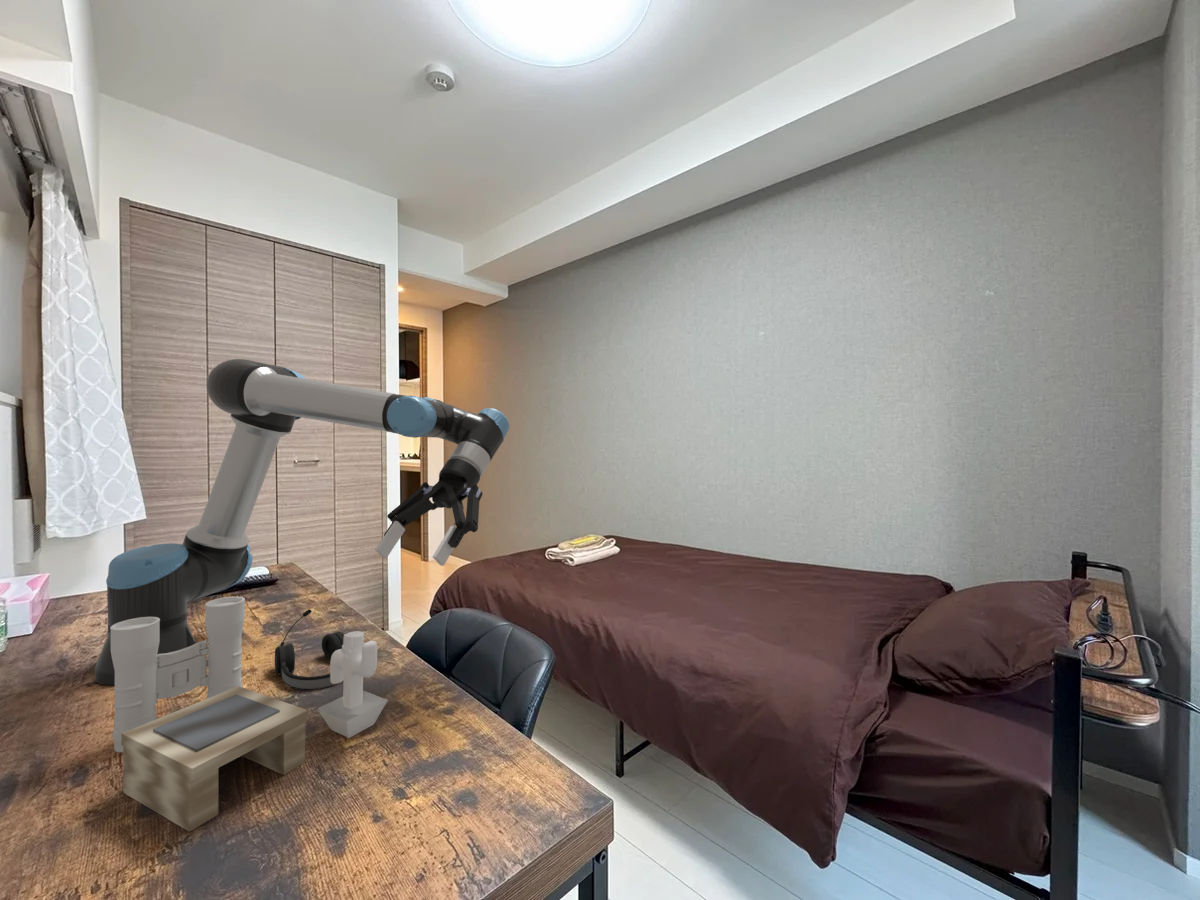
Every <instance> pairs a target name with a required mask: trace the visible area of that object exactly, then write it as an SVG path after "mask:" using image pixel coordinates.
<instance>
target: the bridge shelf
mask: <svg viewBox="0 0 1200 900" xmlns="http://www.w3.org/2000/svg"><path fill="white" fill-rule="evenodd" d="M308 713H309V711H308V710H307V709H305V708H302V707H299V706H298V705H297V706H296V705H293V704H291V703H288V702H285V701H284V700H283V701H282V700H279V699H277V698H273V697H271V696H268V695H265V694H262V693H259V692H257V691H254V690H251V689H248V688H245V687H243V686H242V687H240V686H237V687H235V688H232V689H230V690H227V691H225V692H223V693H220V694H218V695H215V696H213V697H210V698H208V699H207V698H206V699H203V700H201V701H198V702H196V703H193V704H191V705H188V706H186V707H183V708H180V709H179V710H176V711H173V712H171V713H167V714H166V715H164V716H161V717H159V718H158V717H157V719H156V720H153V721H151V722H149V723H146V724H144V725H141V726H139V727H136V728H134V729H131V730H129V731H126V732H124V733H121V745H122V746H123V752H122V753H123V755H122V757H123V758H122V762H123V763H122V765H123V766H122V767H123V768H122V769H123V771H122V773H123V775H122V776H123V778H122V779H123V780H122V781H123V783H122V784H123V785H122V789H123V793H124V795H127V796H128V797H130V798H132V799H133V800H135V801H136V802H139V803H140V804H142V805H143V806H145V807H147V808H149V809H150V810H152V811H154V812H156V813H157V814H159V815H160V816H162V817H164V818H166V819H167V820H169V821H170V822H172V823H173V824H175V825H178V826H179V827H180V828H182V829H184V830H186V831H187V832H189V833H190V832H192V831H193V830H195V829H197V828H198V827H200V826H202V825H203V824H205V823H207V822H208V821H210V820H212V819H214V818H215V817H217V816H218V815H219V768H220V767H222V766H224V765H227V764H229V763H230V762H232V761H235V760H236V759H237V758H238V759H239V758H240V757H243V758H245V759H247V760H250V761H252V762H254V763H256V764H259V765H261V766H263V767H265V768H267V769H270V770H272V771H274V772H277V773H279V774H281V775H283V776H284V775H286V774H288V773H290V772H291V771H293V770H295V769H297V768H298V767H300V766H301V765H303V764H304V763H306V722H308V718H309V717H308V716H309V715H308Z"/></svg>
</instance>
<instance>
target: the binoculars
mask: <svg viewBox="0 0 1200 900" xmlns="http://www.w3.org/2000/svg"><path fill="white" fill-rule="evenodd" d="M245 600H246V598H245V597H242V596H226V597H220V598H216V599H212V600H210V601H207V602H206V603H205V604H204V607H205V608H204V610H205V611H204V613H205V614H204V618H205V619H204V625H205V626H204V627H205V632H206V638H207V640H206V639H205V640H201V641H198V642H196V643H195V644H194V645H192V646H189V647H187V648H184V649H181V650H178V651H174V652H170V653H165V654H158V655H157V653H158V647H159V642H160V619H159V618H157V617H141V618H134V619H129V620H125V621H122V622H119V623H116V624H114V625H112V626H111V627H110V629H111V656H112V661H113V666H114V670H115V685H114V689H113V691H114V704H113V708H114V718H113V726H114V727H113V730H112V741H113V745H114V746H113V750H114V752H116V753H123V746H122V745H121V733H124V732H126V731H129V730H131V729H134V728H136V727H139V726H141V725H144V724H146V723H149V722H151V721H153V720H156V719H158V717H157V707H156V706H157V704H158V703H159V701H158V700H162V699H163V700H165V699H172V698H174V697H178V696H180V695H183V694H185V693H188V692H190V691H193V690H194V689H195V688H196V687H198V686H199V687H200V688H201V687H206V686H207V693H206V699H208V698H210V697H213V696H215V695H218V694H220V693H223V692H225V691H227V690H230V689H232V688H235V687H237V686H240V687H243V685H242V683H243V681H242V680H243V679H242V678H243V677H242V667H243V664H242V653H243V648H242V636H243V628H244V623H245V615H246V614H245V613H246V612H245V609H246V607H245V602H246V601H245ZM207 655H208V656H207ZM207 657H208V658H207ZM157 658H158V659H157ZM207 661H208V670H207ZM157 662H158V663H157ZM164 665H165V666H164ZM207 673H208V674H207Z"/></svg>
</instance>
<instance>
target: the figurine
mask: <svg viewBox="0 0 1200 900" xmlns="http://www.w3.org/2000/svg"><path fill="white" fill-rule="evenodd" d="M343 634H344V639H343V645H342V649H339V650H336V651H335V652H334V653H333V654H332V656H331V660H330V664H329V666H330V667H329V668H330V670H329V671H330V672H329V674H330V681H331V683H332V684H335V685H338V684H340V682H341V683H342V681H343V683H342V685H343V686H342V688H343V694H342V696H341V697H338V698H337V699H335V700H332V701H331V702H330V701H329V702H328V703H325V704H324V705H321V706H319V707H318V708H316V709H317V711H318V712H319V714H320V715H321V716H322V718H323V720H324V721H325V722H326V724H327V726H328V727H329V728H330V730H331V731H333V732H335V733H337V734H339V735H341V736H344V737H346V738H347V739H350V738H351V737H354V736H356V735H357V734H359V733H361V732H362V731H364V730H366V729H369V728H370V727H372V726H373V725H375V724H376V721H377V720H378V718H379V717H380V714H381V713H382V712H383V709H384V707H385V706H386V704H387V702H388V701H389V700H388V699H386V698H384V697H381V696H378V695H376V694H374V693H371V692H367V691H365V690H364V678H365V679H368V678H371V677H373V676H374V675H375V673H376V671H377V667H378V643H377V641H376V640H369V641H367V642H365V633H364V632H363V631H359V630H357V631H355V630H354V631H349V632H347V633H343ZM364 642H365V643H364ZM337 683H338V684H337Z"/></svg>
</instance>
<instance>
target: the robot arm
mask: <svg viewBox="0 0 1200 900" xmlns="http://www.w3.org/2000/svg"><path fill="white" fill-rule="evenodd" d="M206 391H207V394H208V397H209V399H210V400H211V402H212V403H213V404H214V405H215V406H216V407H217V408H218V409H220V410H222V411H224V412H226V413H228V414H230V418H231V420H232V422H234V423H233V424H235V427H234V430H233V432H232V434H231V437H230V441H229V442H228V446H227V449H226V451H225V453H224V456H223V459H222V461H221V464H220V467H219V470H218V472H217V475H216V478H215V480H214V483H213V485H212V488H211V491H210V494H209V496H208V499H207V502H206V504H205V507H204V510H203V513H202V515H201V518H200V521H199V523H198V525H196V526H195V525H194V526H193V527H191V528H189V529H188V530H187V531H186V534H185V536H184V539H183V542H182V544H181V543H176V542H175V543H171V542H170V543H159V544H158V543H157V544H153V545H150V546H141V547H137V548H133V549H130V550H127V551H125V552H122V553H120V554H118V555H117V556H115V557H113V559H112V560H111V561H110V562H109V564H108V568H107V569H108V571H107V577H106V580H105V583H106V589H107V590H106V591H107V593H106V594H107V595H106V596H107V637H106V639H105V641H104V643H103V644H104V645H103V647H102V649H101V652H100V653H99V656H98V658H97V661H96V664H95V667H94V681H95V682H96V683H98V684H101V685H105V686H108V685H109V686H110V685H112V686H115V670H114V666H113V661H112V656H111V629H110V627H111V626H112V625H114V624H116V623H119V622H122V621H125V620H129V619H134V618H141V617H157V618H159V619H160V642H159V647H158V653H157V655H158V654H165V653H170V652H174V651H178V650H181V649H184V648H187V647H189V646H192V645H194V644H195V643H197V642H196V640H195V639H196V638H195V637H194V635H193V632H192V631H191V628H190V626H189V624H188V618H187V617H188V616H187V615H188V612H187V611H188V603H189V602H192V601H195V600H197V599H198V600H199V599H201V598H204V597H207V596H209V595H212V594H214V593H219V592H222V591H225V590H227V589H229V588H231V587H234V585H237V584H238V583H240V582H241V581H243V579H245V577H246V576H247V574H248V573H249V571H250V570H251V567H252V564H253V554H252V553H251V550H252V549H251V547H250V545H249V542H250V539H249V537H248V536H247V535H246V534H245V533H246V532H245V531H246V529H247V526H248V523H249V521H250V518H251V515H252V513H253V511H254V508H255V505H256V504H257V503H256V502H257V500H258V497H259V496H260V492H261V489H262V486H263V484H264V482H265V479H266V476H267V473H268V471H269V468H270V466H271V464H272V460H273V458H274V455H275V452H276V449H277V447H278V445H279V442H280V439H281V437H284V436H287V435H290V433H291V432H292V429H293V427H294V424H295V421H296V420H300V419H302V418H304V419H309V420H315V421H320V422H321V421H322V422H327V423H334V424H340V425H346V426H350V427H351V426H352V427H358V428H363V429H370V430H376V431H381V432H387V433H392V434H397V435H401V436H402V437H407V438H413V439H414V438H417V439H418V438H436V439H437V438H439V439H442V440H445V441H448V442H449V443H453V444H456V447H455V449H454V450H453V451H452V453H451V454H450V456H449V457H448V460H446V462H445V464H444V465H443V467H442V468H441V470H440V471H439V472H438V473H439V474H438V481H437V482H436V483H435V484H434V485H430V484H428V482H423V483H422V484H421V485H420V486H419V488H418V489H417V490H416V491H414V492H413V493H412V494H411V495H410V496H409V497H408V498H406V499H405V500H403V502H402V503H400V504H399V505H398V506H396V507H395V508H394V509H393V510H392V511H391V512H389V513H388V514H387V516H386V517H387V518H388V519H389V520H390V522H391V524H389V527H387V529H386V531H385V532H384V533H383V537H382V539H381V540H380V542H379V543H378V545H377V546H376V548H375V549H374V551H376V552H377V554H379V555H380V556H381V557H382V558H383V559H387V558H388V557H389V555H390V554H391V552H392V551H393V549H394V548H395V547H396V545H397V543H398V542H399V541H400V539H401V537H402V536H403V535H404V533H405V531H406V529H405V527H406V526H408V525H410V524H411V523H412V522H413V521H415V520H417V519H419V518H420V517H422V516H423V515H425V514H426V513H428V512H430V511H435V510H436V509H439V508H442V509H443V508H446V509H452V514H453V518H454V522H453V524H454V525H450V526H449V528H448V529H447V531H446V533H445V535H444V537H443V538H442V540H441V541H440V543H439V545H438V547H437V549H436V550H435V552H434V553H433V555H432V558H433V559H434V560H435V561H436V562H437V564H438V565H440V566H443V567H444V566H445V564H446V563H447V561H448V559H449V558H450V556H451V554H452V552H453V551H454V549H457V548H458V546H459V545H460V542H461V541H462V539H463V538H464V536H465V535H466V534H468V532H472V533H475V532H478V529H479V514H480V500H481V499H482V497H483V491H482V490H481V489H480V488H479V486H478V483H479V481H480V480H481V478H482V476H483V475H484V473H485V472H486V470H487V468H488V467H489V466H490V465H489V464H491V461H492V460H493V458H494V456H495V455H496V454H497V452H498V450H499V449H500V447H501V445H502V444H503V442H504V441H505V440H504V439H505V437H506V435H507V434H508V432H509V430H510V422H509V419H508V418H507V416H506V415H505V414H504V413H503V412H502V411H500V410H498V409H496V408H492V407H490V408H487V407H485V408H483V409H481V410H480V411H479V412H478V413H474V412H470V411H467V410H464V409H462V408H459V407H456V406H454V405H451V404H449V403H446V402H444V401H442V400H438V399H435V398H431V397H427V396H425V397H421V396H416V395H404V394H396V393H392V392H386V391H380V390H374V389H368V388H362V387H356V386H350V385H344V384H338V383H334V382H333V383H332V382H326V381H320V380H315V379H309V378H305V377H304V376H303V375H302V374H301V373H299V372H297V371H295V370H292V369H290V368H287V367H283V366H280V365H274V364H270V363H263V362H258V361H254V360H251V359H244V358H235V359H228V360H226V361H222V362H221V363H218V364H217V365H216V366H214V367H213V369H212V370H211V371H210V372H209V374H208V376H207V379H206ZM465 499H467V500H466V511H465V512H466V515H465V512H464V509H465V508H464V504H463V503H464V502H463V501H464V500H465ZM431 500H432V501H431ZM157 659H158V658H157ZM157 663H158V662H157ZM164 666H165V665H164Z"/></svg>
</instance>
